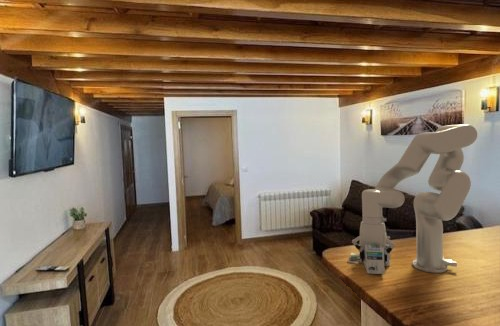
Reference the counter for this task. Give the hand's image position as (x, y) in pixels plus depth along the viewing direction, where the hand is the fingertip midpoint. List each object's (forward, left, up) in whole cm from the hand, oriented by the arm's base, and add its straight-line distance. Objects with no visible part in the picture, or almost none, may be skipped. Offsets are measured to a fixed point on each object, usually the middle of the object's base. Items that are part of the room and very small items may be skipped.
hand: (373, 261), depth 124 cm
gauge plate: (+2, -7, -4) cm, 9 cm away
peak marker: (+9, -9, -4) cm, 13 cm away
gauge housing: (+3, -11, -4) cm, 12 cm away
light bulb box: (0, 0, -3) cm, 3 cm away
